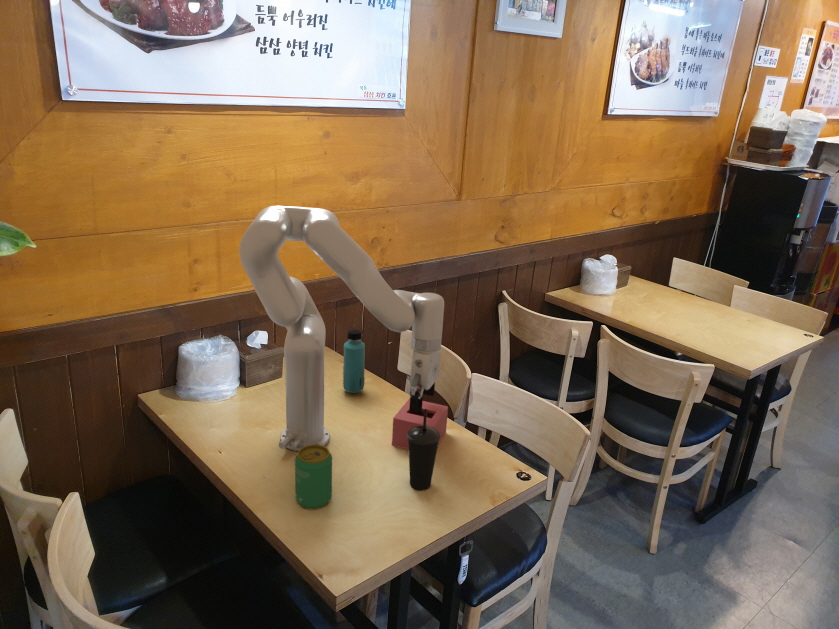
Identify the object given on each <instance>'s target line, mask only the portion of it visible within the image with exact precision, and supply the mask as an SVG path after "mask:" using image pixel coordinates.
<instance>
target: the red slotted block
mask: <svg viewBox="0 0 839 629" xmlns="http://www.w3.org/2000/svg"><path fill="white" fill-rule="evenodd" d="M409 407H410V397H409V398H407V400H406V402H405V403H404V404H403V405H402V406H401V408H399V411H398V412H397V413H396V414H395V415H394V416H393V419H392V437H391V445H392V446H394V447H399V448H403V449H407V450H409V443H408V437H407V432H408V431H409V429H411V428H413V427H416V426H423V420H424V409H427V420H426V426H429V427H432V428H435V429H436V430H438V431H439V433H440V435H441V437H440V440H439V442H438V445H439V444H440V443H441V441H442V440H443V438H444V436H445V434H446V433H447V424H448V414H449V406H447V405H443V404H440V403H435V402H429V401H425V400H423V403H422V411H421V412H415V411H411V410H410V409H409Z"/></svg>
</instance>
